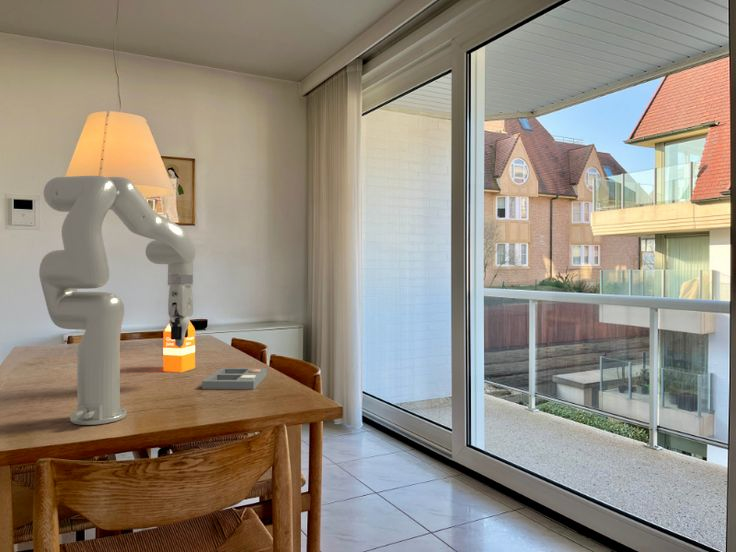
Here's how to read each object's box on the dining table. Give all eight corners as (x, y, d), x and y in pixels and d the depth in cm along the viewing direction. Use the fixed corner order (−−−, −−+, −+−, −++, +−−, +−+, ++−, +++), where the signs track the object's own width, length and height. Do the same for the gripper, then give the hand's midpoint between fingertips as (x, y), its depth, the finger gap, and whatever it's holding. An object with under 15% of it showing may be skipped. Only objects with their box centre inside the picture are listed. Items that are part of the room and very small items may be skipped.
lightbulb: (183, 348, 165) (183, 313, 165) (165, 348, 166) (165, 312, 166) (193, 346, 171) (193, 311, 171) (176, 345, 172) (176, 311, 172)
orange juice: (163, 371, 194) (162, 316, 194) (177, 366, 203) (177, 314, 202) (182, 372, 192) (182, 316, 192) (195, 367, 201) (195, 314, 200)
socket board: (253, 389, 166) (253, 380, 166) (202, 389, 166) (202, 380, 166) (266, 375, 188) (266, 366, 188) (221, 375, 188) (221, 366, 188)
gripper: (183, 281, 160) (182, 341, 160) (200, 281, 177) (199, 335, 177) (158, 280, 160) (157, 341, 160) (177, 280, 177) (177, 335, 177)
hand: (179, 337), depth 169 cm, fingers closed on lightbulb, 5 cm apart
